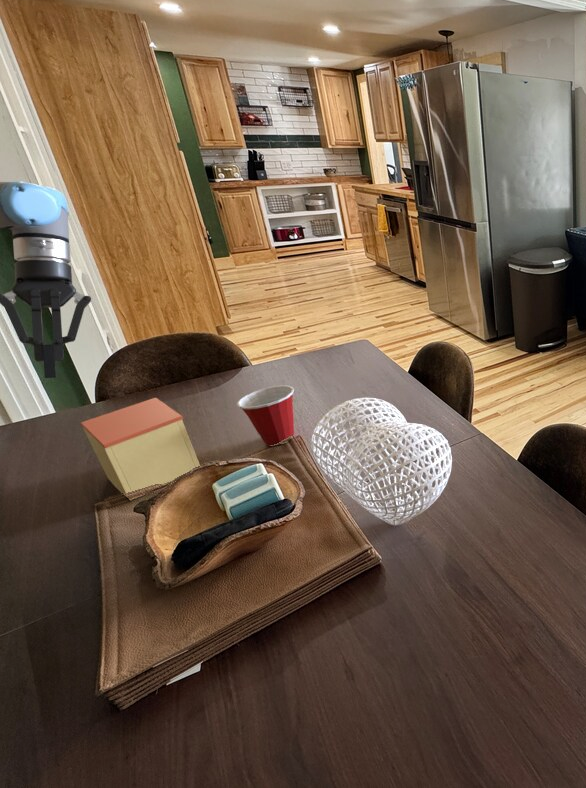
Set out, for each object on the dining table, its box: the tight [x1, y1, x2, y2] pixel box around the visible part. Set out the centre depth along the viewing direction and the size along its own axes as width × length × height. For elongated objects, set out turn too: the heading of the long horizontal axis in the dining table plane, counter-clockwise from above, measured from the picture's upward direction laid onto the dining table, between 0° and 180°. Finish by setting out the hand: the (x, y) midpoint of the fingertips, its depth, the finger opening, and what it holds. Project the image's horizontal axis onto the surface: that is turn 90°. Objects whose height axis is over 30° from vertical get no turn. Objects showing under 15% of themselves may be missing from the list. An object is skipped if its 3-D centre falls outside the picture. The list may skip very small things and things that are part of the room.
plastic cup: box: [236, 384, 295, 447], centre depth 108 cm, size 11×11×12 cm
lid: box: [80, 397, 184, 448], centre depth 93 cm, size 14×12×1 cm
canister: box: [81, 419, 201, 494], centre depth 96 cm, size 13×12×13 cm
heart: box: [310, 397, 453, 526], centre depth 83 cm, size 28×16×22 cm, turn 53°
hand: (50, 377), depth 95 cm, fingers closed
